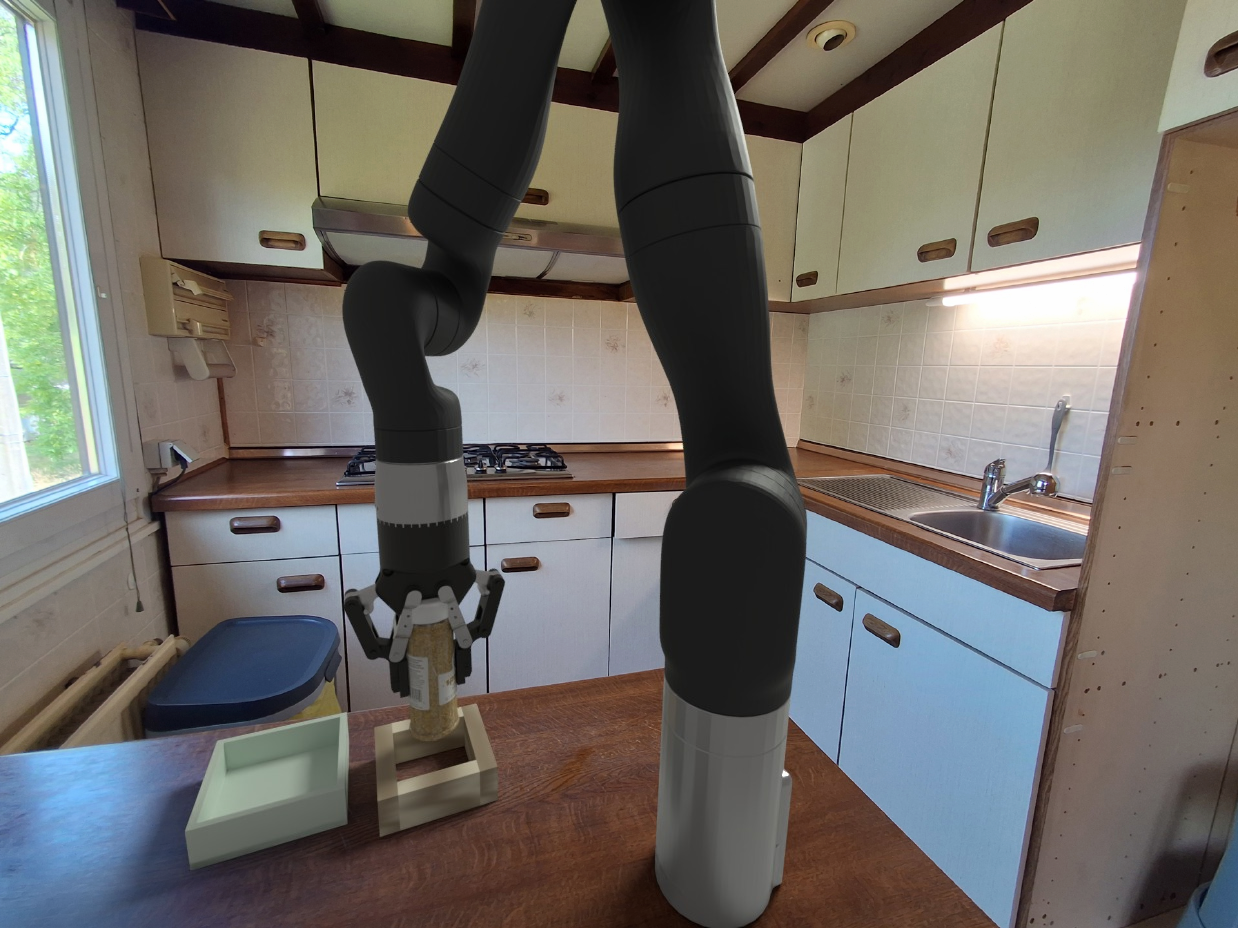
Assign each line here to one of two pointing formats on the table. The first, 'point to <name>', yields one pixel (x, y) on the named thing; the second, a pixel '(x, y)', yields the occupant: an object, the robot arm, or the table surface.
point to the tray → (270, 790)
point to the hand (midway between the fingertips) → (432, 685)
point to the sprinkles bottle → (431, 672)
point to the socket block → (433, 773)
